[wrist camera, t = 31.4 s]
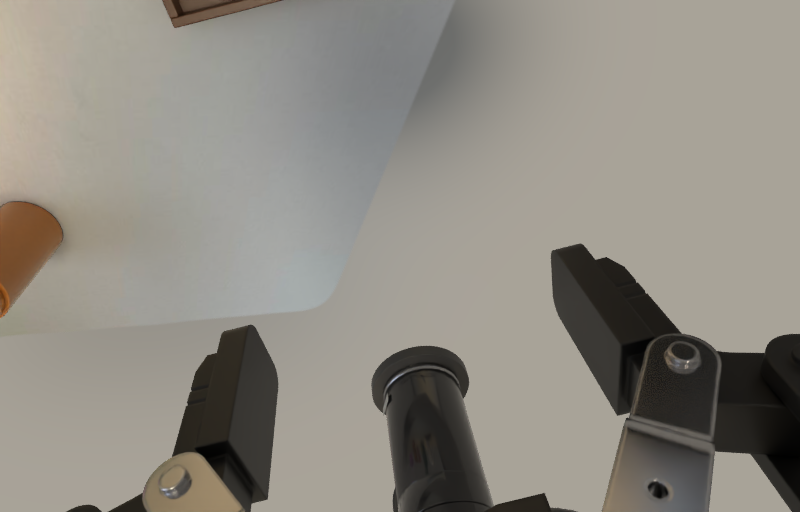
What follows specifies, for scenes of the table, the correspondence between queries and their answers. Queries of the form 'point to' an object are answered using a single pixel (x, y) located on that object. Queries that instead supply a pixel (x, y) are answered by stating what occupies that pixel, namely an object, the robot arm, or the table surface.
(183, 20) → the tray
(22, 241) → the jar
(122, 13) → the table surface
